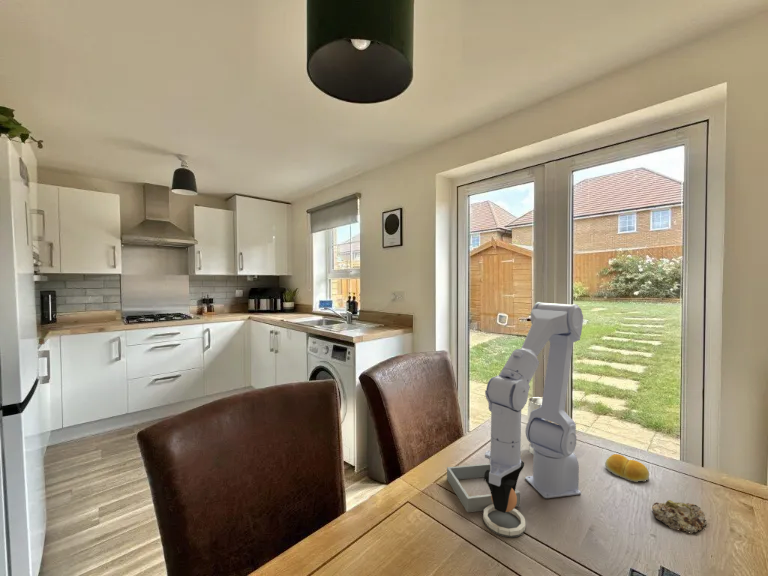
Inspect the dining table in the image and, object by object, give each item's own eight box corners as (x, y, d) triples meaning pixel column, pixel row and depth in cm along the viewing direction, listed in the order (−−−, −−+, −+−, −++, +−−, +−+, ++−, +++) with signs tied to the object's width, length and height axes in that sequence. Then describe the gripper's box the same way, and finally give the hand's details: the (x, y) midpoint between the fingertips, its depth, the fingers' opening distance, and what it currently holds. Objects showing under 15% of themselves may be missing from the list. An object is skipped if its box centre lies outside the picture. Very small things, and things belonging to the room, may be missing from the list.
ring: (511, 507, 75) (511, 502, 75) (533, 534, 67) (533, 528, 67) (476, 511, 73) (477, 506, 73) (495, 539, 65) (495, 533, 65)
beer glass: (558, 459, 95) (559, 405, 94) (532, 458, 95) (534, 405, 94) (546, 446, 102) (547, 396, 101) (523, 446, 102) (524, 396, 101)
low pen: (492, 474, 87) (492, 462, 87) (519, 506, 75) (520, 492, 75) (446, 479, 85) (447, 467, 85) (467, 512, 73) (467, 498, 73)
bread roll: (644, 488, 82) (645, 471, 82) (602, 471, 89) (602, 456, 89) (652, 475, 88) (653, 459, 88) (612, 460, 95) (612, 446, 94)
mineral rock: (680, 527, 66) (644, 491, 74) (672, 544, 67) (638, 507, 75) (726, 524, 68) (687, 489, 75) (718, 540, 69) (680, 504, 77)
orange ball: (508, 500, 73) (508, 476, 73) (521, 516, 68) (522, 491, 68) (486, 502, 72) (486, 479, 72) (498, 519, 67) (498, 494, 67)
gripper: (496, 419, 78) (495, 478, 78) (473, 445, 66) (472, 514, 66) (529, 427, 74) (528, 489, 74) (511, 456, 62) (510, 530, 62)
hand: (504, 502), depth 70 cm, fingers closed on orange ball, 5 cm apart
